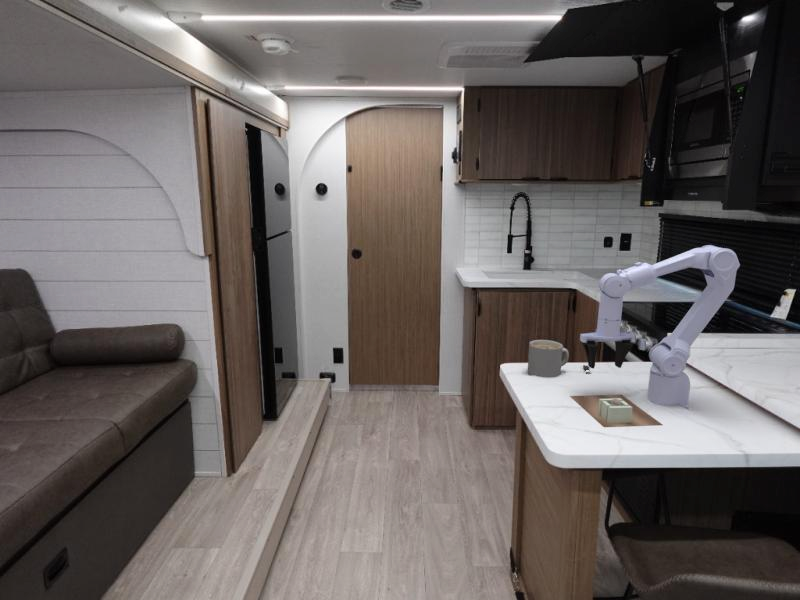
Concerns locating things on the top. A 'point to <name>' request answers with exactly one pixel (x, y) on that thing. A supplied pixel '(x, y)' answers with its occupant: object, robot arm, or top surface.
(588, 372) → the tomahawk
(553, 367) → the coffee mug
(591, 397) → the post board
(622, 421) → the collar
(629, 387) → the top surface
